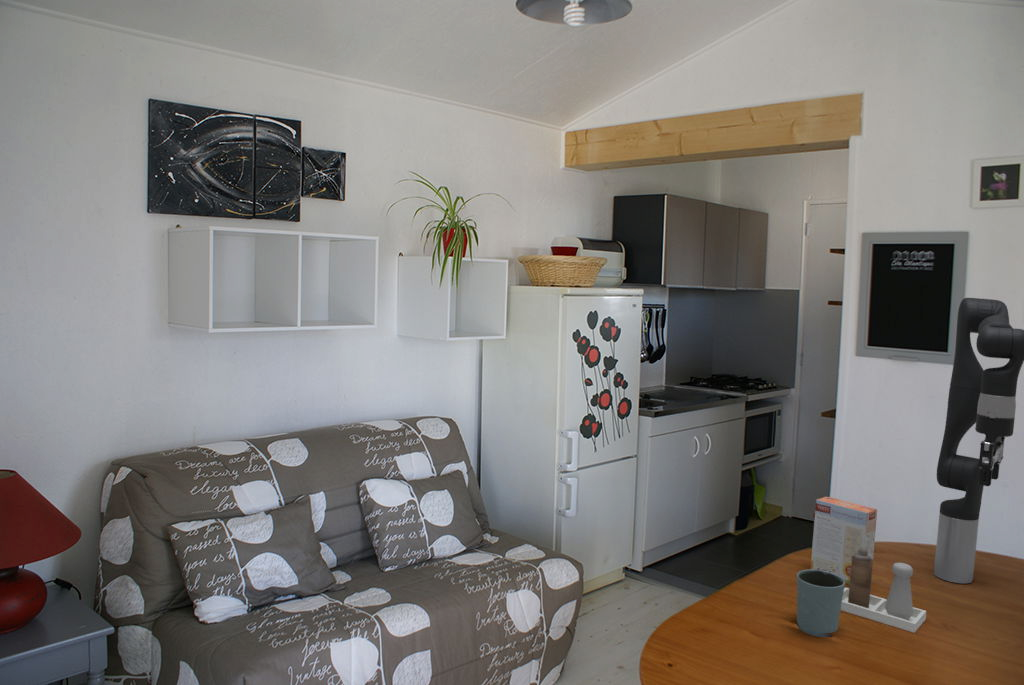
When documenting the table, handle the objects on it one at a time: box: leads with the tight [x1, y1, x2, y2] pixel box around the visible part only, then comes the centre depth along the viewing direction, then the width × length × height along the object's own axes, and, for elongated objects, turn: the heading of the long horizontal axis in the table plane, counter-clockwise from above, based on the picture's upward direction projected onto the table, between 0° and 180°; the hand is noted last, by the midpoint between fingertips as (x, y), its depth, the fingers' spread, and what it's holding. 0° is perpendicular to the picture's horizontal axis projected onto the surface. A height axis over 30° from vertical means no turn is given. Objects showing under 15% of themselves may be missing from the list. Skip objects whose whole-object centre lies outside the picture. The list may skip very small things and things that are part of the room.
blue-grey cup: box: [796, 568, 846, 638], centre depth 178 cm, size 10×10×12 cm
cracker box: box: [810, 496, 878, 586], centre depth 207 cm, size 14×6×21 cm, turn 40°
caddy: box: [840, 587, 927, 634], centre depth 186 cm, size 10×18×3 cm, turn 49°
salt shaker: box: [885, 562, 914, 620], centre depth 183 cm, size 6×6×13 cm
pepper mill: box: [848, 547, 874, 609], centre depth 189 cm, size 5×5×15 cm
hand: (988, 482), depth 185 cm, fingers open, 8 cm apart
